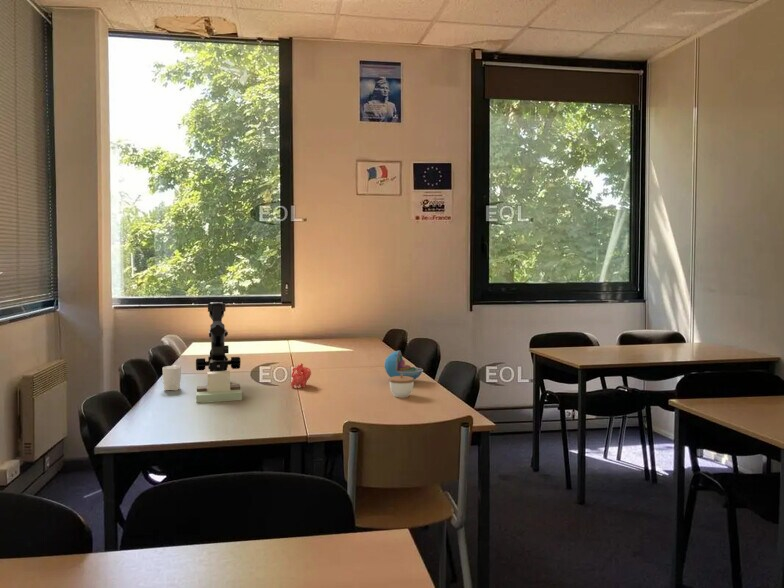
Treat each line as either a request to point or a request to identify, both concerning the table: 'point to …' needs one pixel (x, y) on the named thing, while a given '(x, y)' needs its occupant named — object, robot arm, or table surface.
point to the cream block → (218, 381)
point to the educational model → (400, 366)
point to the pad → (218, 396)
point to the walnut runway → (205, 387)
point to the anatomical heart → (300, 376)
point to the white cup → (171, 377)
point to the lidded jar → (401, 385)
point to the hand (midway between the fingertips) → (218, 379)
